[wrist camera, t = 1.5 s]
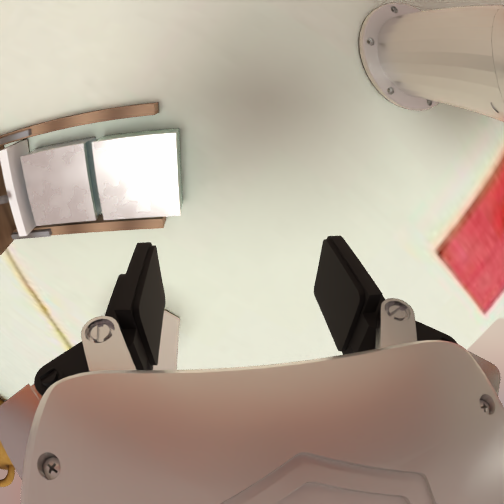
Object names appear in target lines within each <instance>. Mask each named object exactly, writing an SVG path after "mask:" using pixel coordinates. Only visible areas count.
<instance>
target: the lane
mask: <svg viewBox="0 0 504 504" xmlns="http://www.w3.org/2000/svg"><path fill="white" fill-rule="evenodd" d="M157 113H159V109H158V102H156V103H147V104H138V105H130V106H123V107H116V108H110V109H103V110H98V111H92V112H87V113H82V114H77V115H73V116H68V117H64V118H59V119H55V120H51V121H47V122H44V123H40V124H36V125H33V126H29V127H26V128H23V129H19V130H16V131H13V132H10V133H7V134H4V135H1V136H0V151H1V150H3V149H4V145H5V144H8V143H11V142H14V141H18V140H21V139H25V138H28V137H32V136H36V135H40V134H43V133H48V132H52V131H56V130H60V129H65V128H70V127H74V126H79V125H85V124H90V123H96V122H102V121H108V120H115V119H122V118H129V117H138V116H147V115H155V114H157ZM165 221H166V216H164V217H146V218H130V219H115V220H104V219H103V214H102V215H99V216H98V218H97V220H95V221H83V222H71V223H61V224H51V225H41V226H36V227H35V228H34V229H33V230H32V231H31V232H30V233H29V234H28V235H27V236H20V237H19V234H18V231H17V227H16V224H15V221H14V217H13V214H12V210H11V207H10V203H9V198H8V195H7V191H6V187H5V182H4V177H3V173H2V167H1V162H0V255H1V254H2V253H3V252H4V251H5V250H6V248H7V247H8V246H9V245H10V244H11V243H12V242H13V240H14V239H23V238H35V237H47V236H51V235H60V234H73V233H87V232H102V231H118V230H135V229H153V228H164V224H165Z"/></svg>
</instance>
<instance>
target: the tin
mask: <svg viewBox="0 0 504 504" xmlns="http://www.w3.org/2000/svg"><path fill="white" fill-rule="evenodd" d="M92 150H93V158H94V166H95V173H96V180H97V186H98V192H99V198H100V203H101V209H102V214H103V219H104V220H115V219H130V218H146V217H164V216H180V215H181V207H182V203H183V199H182V184H181V165H180V140H179V128H177V129H163V130H151V131H141V132H132V133H124V134H116V135H109V136H104V137H102V138H100V139H98V140H96V141H93V142H92Z"/></svg>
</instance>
